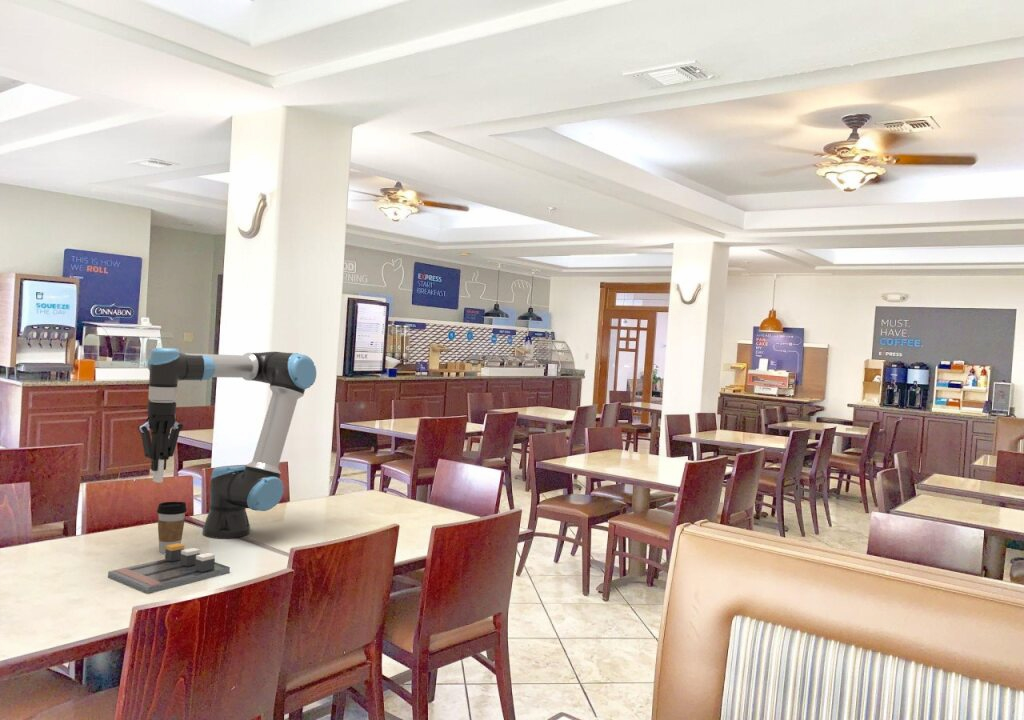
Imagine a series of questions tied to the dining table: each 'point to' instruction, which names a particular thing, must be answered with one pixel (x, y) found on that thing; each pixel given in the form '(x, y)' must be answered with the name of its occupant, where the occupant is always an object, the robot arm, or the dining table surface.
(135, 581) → the panel
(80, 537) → the dining table surface
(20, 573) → the dining table surface
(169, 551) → the block
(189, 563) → the block
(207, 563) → the block
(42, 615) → the dining table surface
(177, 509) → the coffee cup
